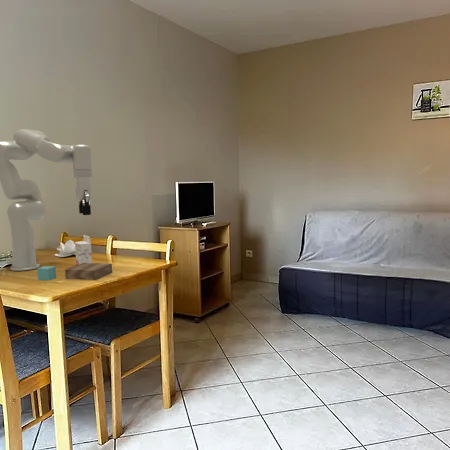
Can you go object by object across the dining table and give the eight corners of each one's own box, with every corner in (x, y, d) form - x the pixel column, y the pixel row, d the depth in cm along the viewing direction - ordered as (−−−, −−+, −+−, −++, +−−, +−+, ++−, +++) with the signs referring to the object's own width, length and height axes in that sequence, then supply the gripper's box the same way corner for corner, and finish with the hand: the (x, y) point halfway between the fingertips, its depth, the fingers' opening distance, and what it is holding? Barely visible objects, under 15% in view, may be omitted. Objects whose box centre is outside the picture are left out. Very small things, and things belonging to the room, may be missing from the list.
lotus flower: (48, 257, 222) (47, 241, 221) (67, 252, 236) (66, 237, 235) (70, 258, 218) (69, 242, 217) (88, 253, 232) (87, 238, 231)
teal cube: (38, 280, 171) (37, 268, 171) (45, 277, 176) (45, 266, 175) (48, 280, 170) (48, 269, 170) (56, 278, 175) (55, 266, 174)
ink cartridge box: (75, 266, 198) (73, 235, 197) (85, 264, 202) (83, 234, 200) (82, 268, 192) (80, 237, 190) (92, 267, 195) (91, 236, 194)
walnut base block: (65, 278, 172) (65, 269, 172) (84, 271, 186) (83, 262, 185) (96, 280, 169) (95, 270, 169) (112, 272, 183) (111, 263, 182)
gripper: (70, 174, 181) (73, 213, 183) (76, 174, 166) (78, 216, 168) (88, 174, 185) (90, 212, 187) (95, 173, 169) (97, 215, 171)
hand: (85, 214), depth 177 cm, fingers open, 9 cm apart
